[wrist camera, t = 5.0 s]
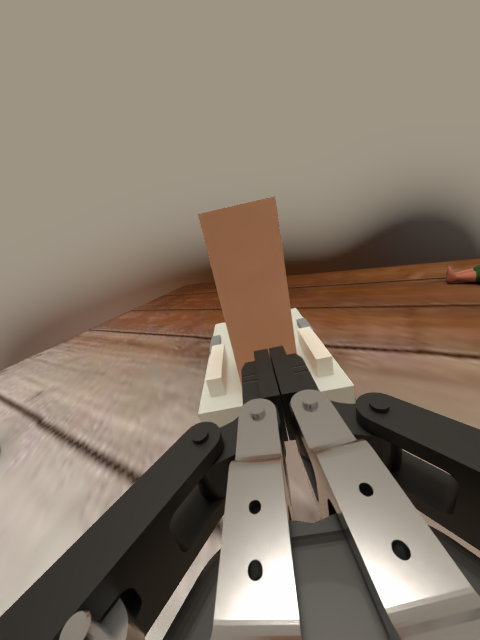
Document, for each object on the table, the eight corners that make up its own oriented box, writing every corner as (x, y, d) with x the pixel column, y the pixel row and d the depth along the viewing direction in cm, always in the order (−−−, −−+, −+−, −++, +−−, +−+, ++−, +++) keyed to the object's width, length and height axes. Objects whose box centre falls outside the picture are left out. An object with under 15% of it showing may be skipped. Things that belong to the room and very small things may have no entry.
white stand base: (203, 430, 22) (191, 396, 21) (218, 334, 42) (212, 313, 40) (354, 403, 21) (353, 366, 20) (297, 318, 41) (294, 296, 39)
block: (243, 394, 22) (197, 214, 17) (241, 361, 28) (207, 217, 22) (301, 383, 22) (274, 196, 16) (287, 352, 28) (264, 204, 22)
